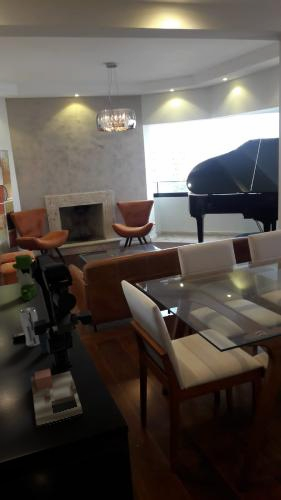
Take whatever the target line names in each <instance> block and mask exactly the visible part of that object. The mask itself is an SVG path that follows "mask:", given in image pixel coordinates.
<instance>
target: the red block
mask: <svg viewBox="0 0 281 500" xmlns="http://www.w3.org/2000/svg"><path fill="white" fill-rule="evenodd" d="M34 376H35V383H36V388H37V391H39V390H43V389H45V388H46V387H49V388H51V387H53V385H52V377H51V376H52V373H51V368H46V369H42V370H38V371H34Z"/></svg>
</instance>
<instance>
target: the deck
mask: <svg viewBox="0 0 281 500" xmlns="http://www.w3.org/2000/svg"><path fill="white" fill-rule="evenodd" d="M51 377H52V385H53V387H51V388H49V387H46V388H45V389H43V390H39V391H37V388H36V383H35V375H33V376H30V383H31V391H32V397H33V399H32V400H33V405H34V406H33V407H34V415H35V424H36V426H37V425H41V424H45V423H49V422H53V421H57V420H60V419H64V418H68V417H71V416H75V415H78V414H82V413H83V408H82V405H81V401H80V399H79V398H80V397H79V395H78V392H77V387H76V384H75V381H74V379H73V375H72V373H71V371H66V372H61V373H58V374H54V375H53V374H52V375H51ZM73 400H75V402H76V405H77V407H74V408H71V409H67V410H64V411H61V412H57V413H53V408H52V405H57V404H62V403H65V402H69V401H73ZM83 414H84V413H83Z"/></svg>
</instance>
